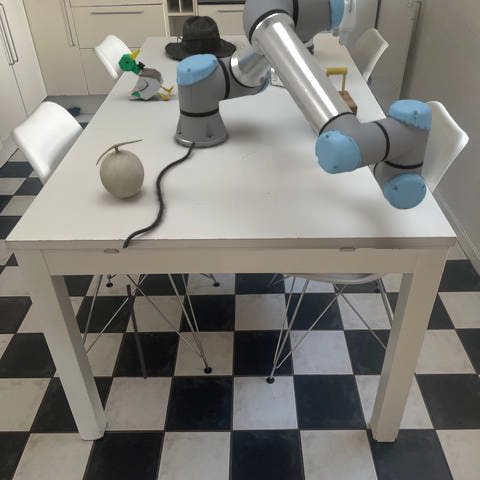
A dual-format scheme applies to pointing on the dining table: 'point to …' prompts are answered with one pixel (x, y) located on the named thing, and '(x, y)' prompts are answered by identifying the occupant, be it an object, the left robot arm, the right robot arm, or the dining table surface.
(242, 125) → the dining table surface
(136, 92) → the toy
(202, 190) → the dining table surface
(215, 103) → the left robot arm
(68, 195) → the dining table surface
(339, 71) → the lid
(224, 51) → the hat
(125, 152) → the fruit
